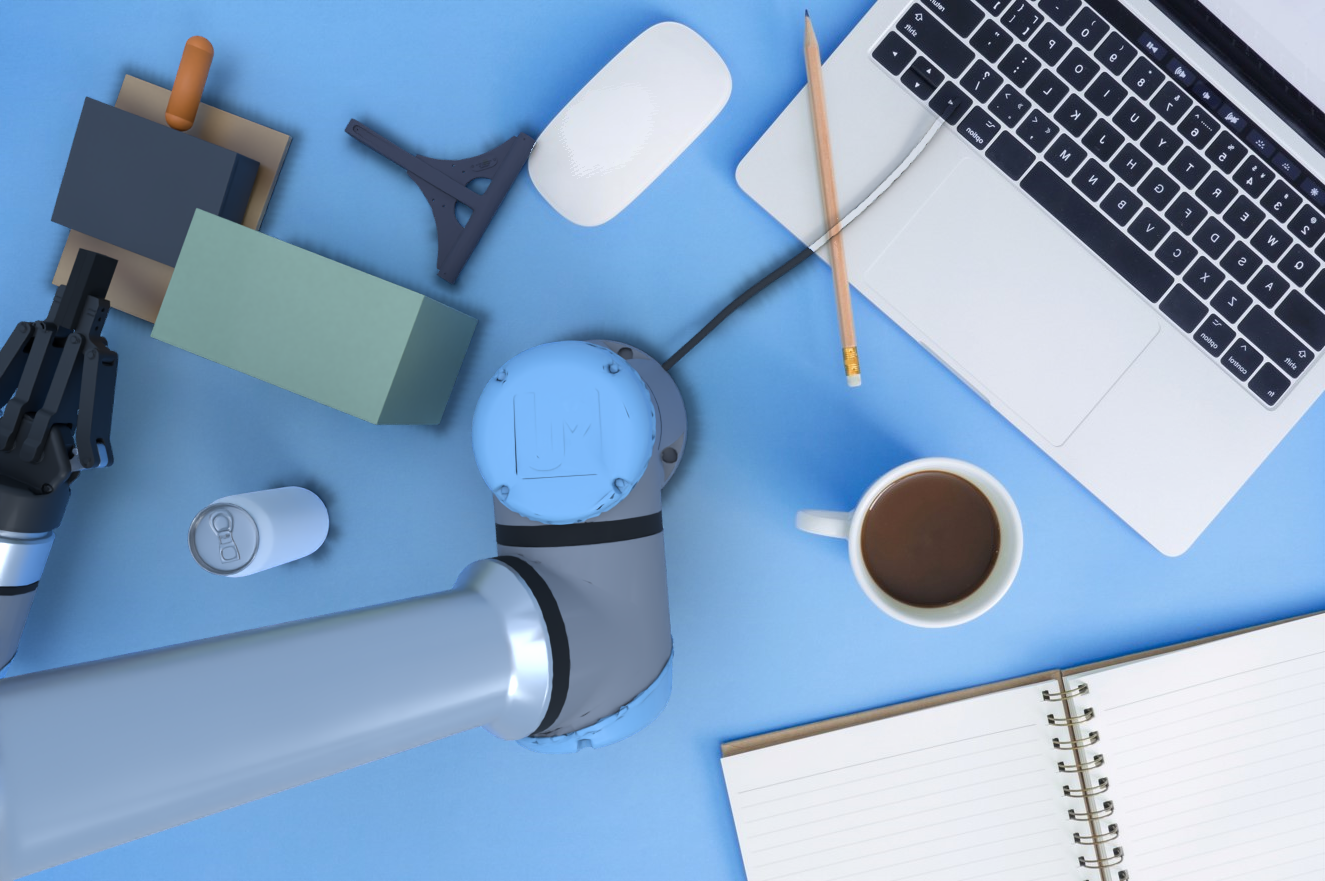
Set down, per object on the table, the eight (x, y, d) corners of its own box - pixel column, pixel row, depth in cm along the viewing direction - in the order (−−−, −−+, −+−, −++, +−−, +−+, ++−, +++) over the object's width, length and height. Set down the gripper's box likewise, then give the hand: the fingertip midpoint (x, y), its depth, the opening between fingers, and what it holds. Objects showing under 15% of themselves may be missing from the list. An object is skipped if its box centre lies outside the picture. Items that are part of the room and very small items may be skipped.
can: (321, 478, 79) (252, 488, 67) (339, 548, 79) (273, 570, 67) (253, 495, 79) (172, 508, 67) (270, 564, 79) (193, 590, 67)
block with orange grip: (81, 227, 79) (142, 17, 77) (224, 281, 78) (288, 71, 76) (50, 220, 75) (112, 0, 73) (199, 277, 75) (266, 56, 73)
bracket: (395, 60, 78) (384, 47, 75) (538, 144, 77) (531, 134, 75) (315, 201, 79) (300, 193, 76) (456, 286, 78) (446, 281, 75)
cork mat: (130, 76, 79) (125, 73, 79) (292, 137, 79) (289, 135, 78) (56, 284, 80) (51, 283, 79) (216, 347, 79) (212, 346, 79)
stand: (293, 248, 79) (196, 207, 64) (478, 319, 78) (424, 295, 63) (254, 353, 79) (149, 336, 64) (439, 424, 78) (376, 425, 63)
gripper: (-28, 489, 77) (61, 236, 76) (107, 542, 77) (197, 288, 76) (-106, 496, 70) (-9, 216, 69) (42, 555, 69) (142, 273, 68)
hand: (99, 254), depth 72 cm, fingers closed
